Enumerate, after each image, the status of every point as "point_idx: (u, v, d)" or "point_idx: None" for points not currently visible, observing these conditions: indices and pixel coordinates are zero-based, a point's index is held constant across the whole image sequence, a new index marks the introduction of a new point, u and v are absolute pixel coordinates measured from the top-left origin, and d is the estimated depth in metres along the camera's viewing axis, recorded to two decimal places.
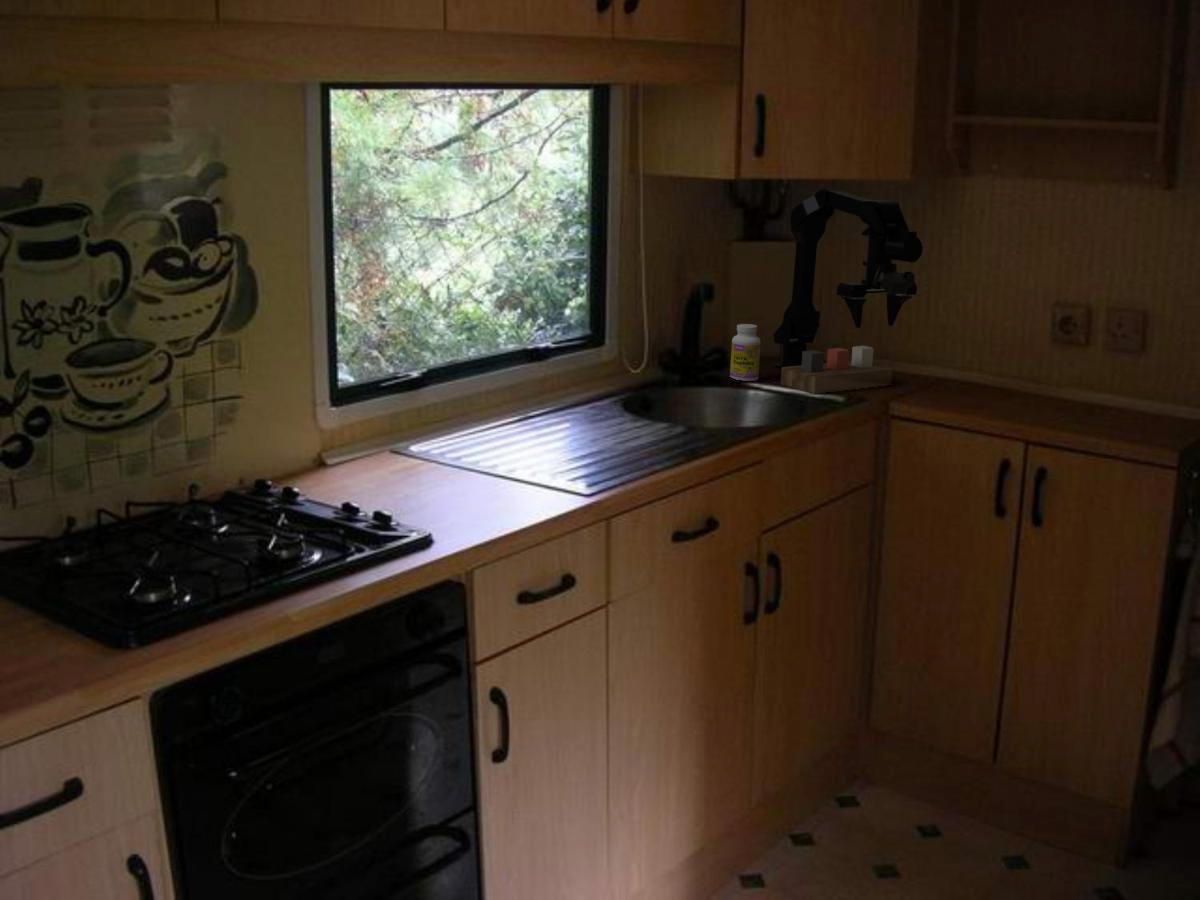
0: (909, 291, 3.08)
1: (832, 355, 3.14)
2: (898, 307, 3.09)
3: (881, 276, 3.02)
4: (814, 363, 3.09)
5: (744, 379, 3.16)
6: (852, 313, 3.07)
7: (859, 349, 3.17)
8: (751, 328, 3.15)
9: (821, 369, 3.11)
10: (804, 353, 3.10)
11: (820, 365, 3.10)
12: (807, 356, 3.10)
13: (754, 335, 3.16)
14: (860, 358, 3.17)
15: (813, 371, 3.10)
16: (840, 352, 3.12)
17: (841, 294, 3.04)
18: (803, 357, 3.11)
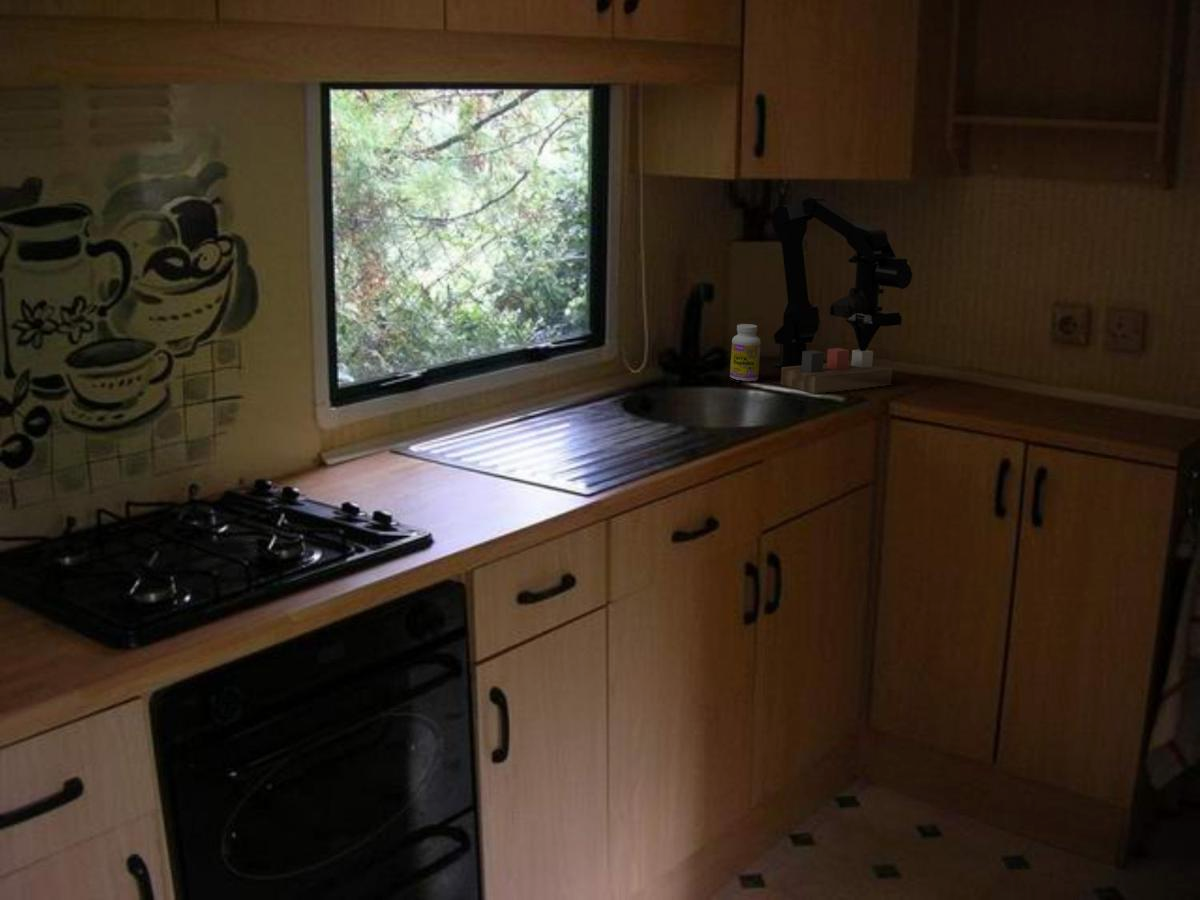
0: (875, 321, 3.09)
1: (832, 355, 3.14)
2: (862, 333, 3.16)
3: None
4: (814, 363, 3.09)
5: (744, 379, 3.16)
6: None
7: (859, 352, 3.17)
8: (751, 328, 3.15)
9: (821, 369, 3.11)
10: (804, 353, 3.10)
11: (820, 365, 3.10)
12: (807, 356, 3.10)
13: (754, 335, 3.16)
14: (860, 361, 3.17)
15: (813, 371, 3.10)
16: (840, 352, 3.12)
17: None
18: (803, 357, 3.11)
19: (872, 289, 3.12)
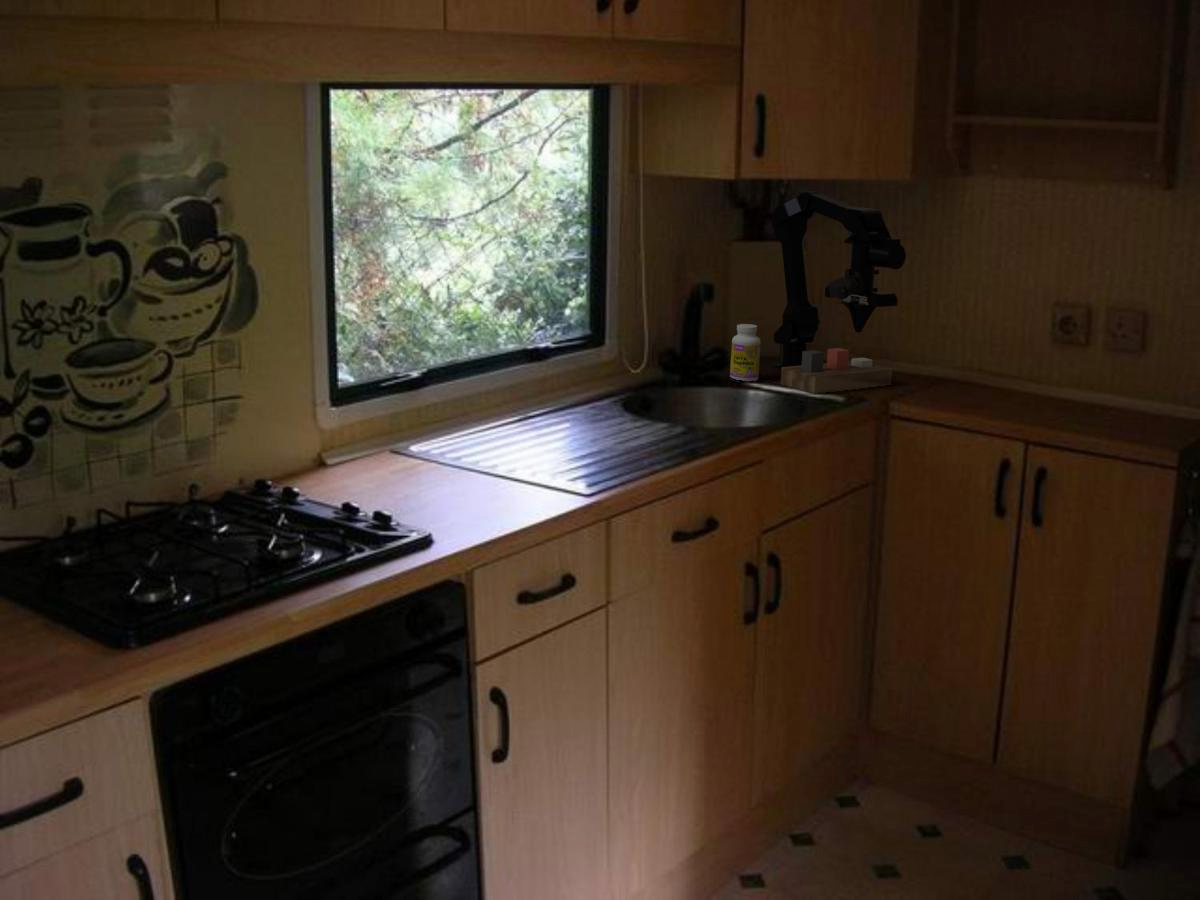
0: (870, 302, 3.07)
1: (832, 355, 3.14)
2: (857, 314, 3.14)
3: None
4: (814, 363, 3.09)
5: (744, 379, 3.16)
6: None
7: (858, 361, 3.17)
8: (751, 328, 3.15)
9: (821, 369, 3.11)
10: (804, 353, 3.10)
11: (820, 365, 3.10)
12: (807, 356, 3.10)
13: (754, 335, 3.16)
14: None
15: (813, 371, 3.10)
16: (840, 352, 3.12)
17: None
18: (803, 357, 3.11)
19: (868, 270, 3.10)
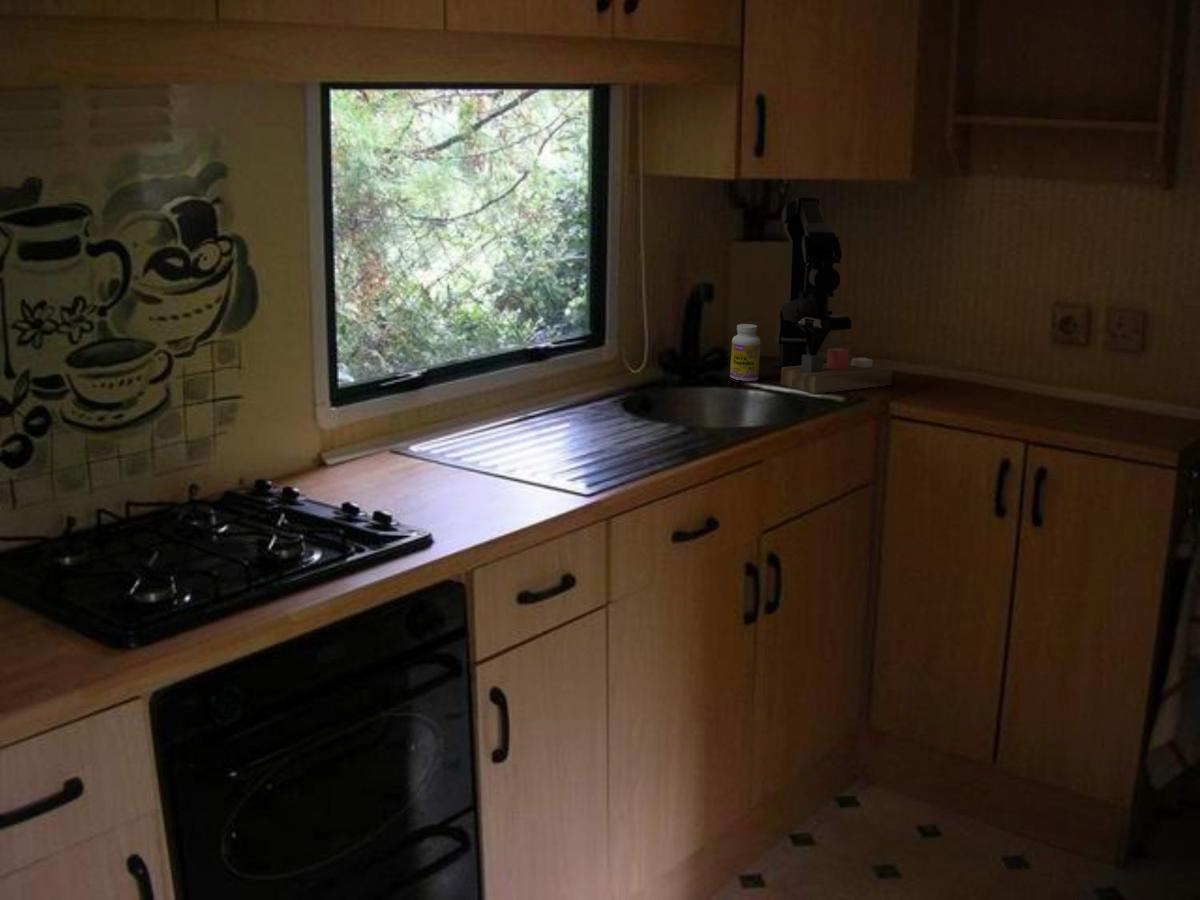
0: (824, 325, 3.02)
1: (832, 355, 3.14)
2: (812, 337, 3.08)
3: None
4: (814, 367, 3.09)
5: (744, 379, 3.16)
6: None
7: (858, 361, 3.17)
8: (751, 328, 3.15)
9: None
10: (804, 356, 3.11)
11: (819, 368, 3.10)
12: (807, 360, 3.10)
13: (754, 335, 3.16)
14: None
15: None
16: (840, 352, 3.12)
17: None
18: (803, 360, 3.11)
19: (822, 293, 3.04)
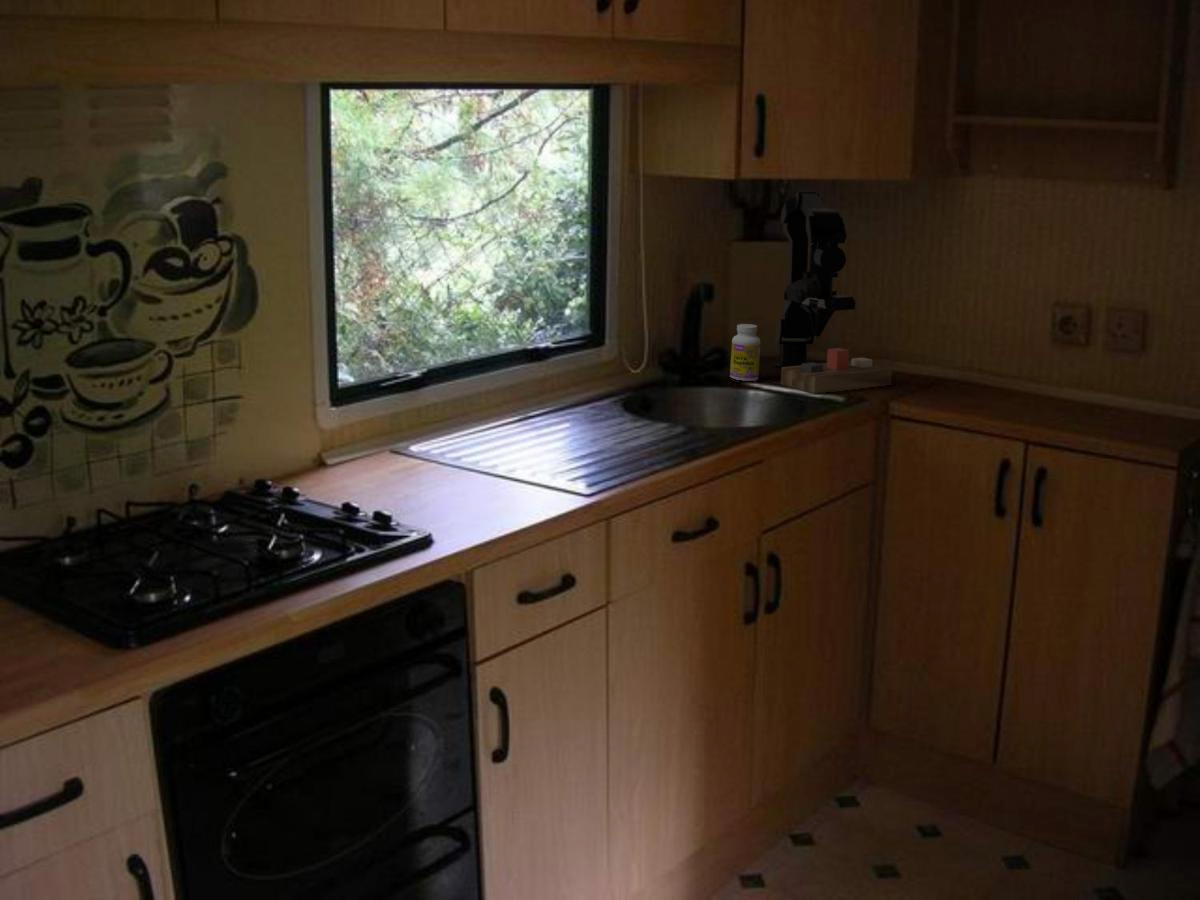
0: (828, 305, 3.01)
1: (832, 355, 3.14)
2: (816, 318, 3.07)
3: None
4: None
5: (744, 379, 3.16)
6: None
7: (858, 361, 3.17)
8: (751, 328, 3.15)
9: None
10: (803, 365, 3.11)
11: None
12: (807, 369, 3.10)
13: (754, 335, 3.16)
14: None
15: None
16: (840, 352, 3.12)
17: None
18: (802, 369, 3.12)
19: (826, 273, 3.04)
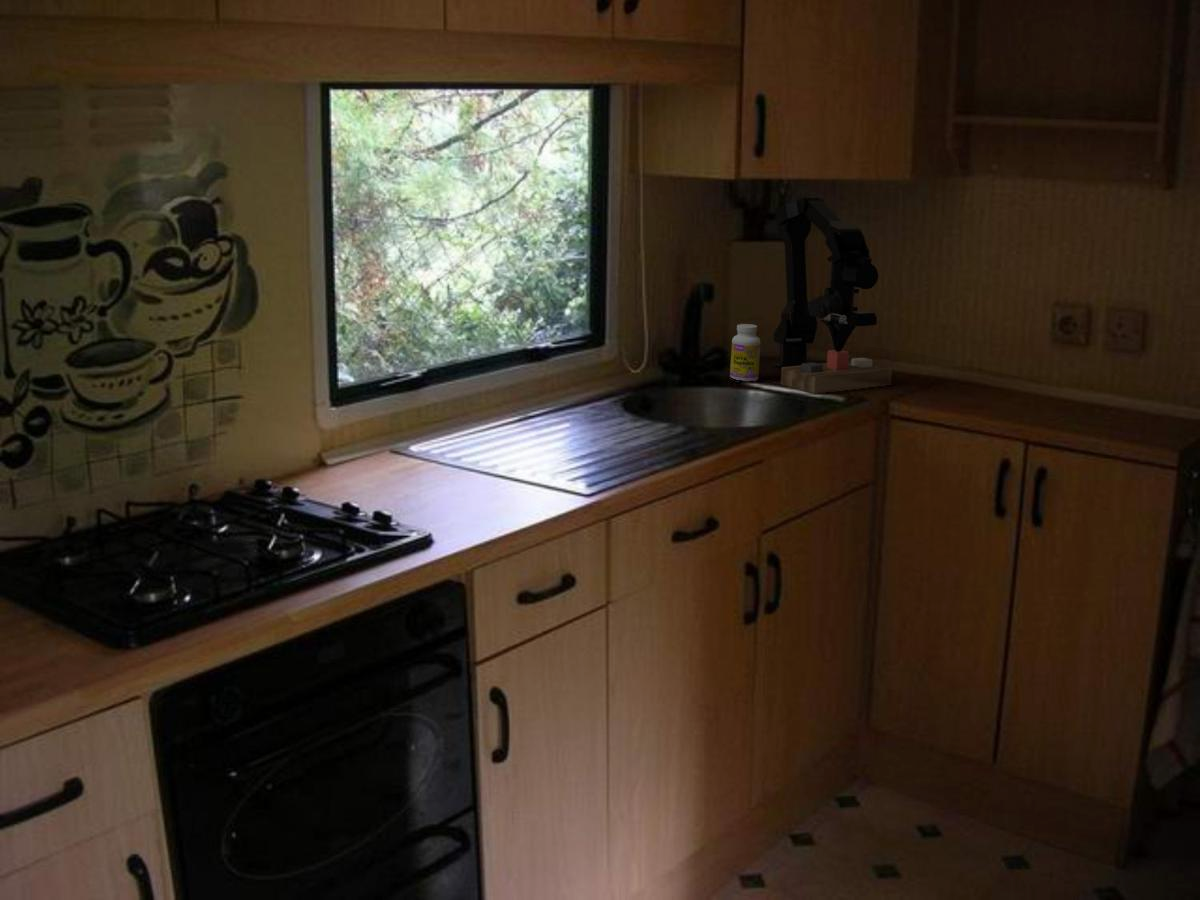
0: (849, 321, 3.05)
1: (832, 356, 3.14)
2: (837, 333, 3.12)
3: None
4: None
5: (744, 379, 3.16)
6: None
7: (858, 361, 3.17)
8: (751, 328, 3.15)
9: None
10: (803, 365, 3.11)
11: None
12: (807, 369, 3.10)
13: (754, 335, 3.16)
14: None
15: None
16: (840, 354, 3.13)
17: None
18: (802, 369, 3.12)
19: (848, 289, 3.08)
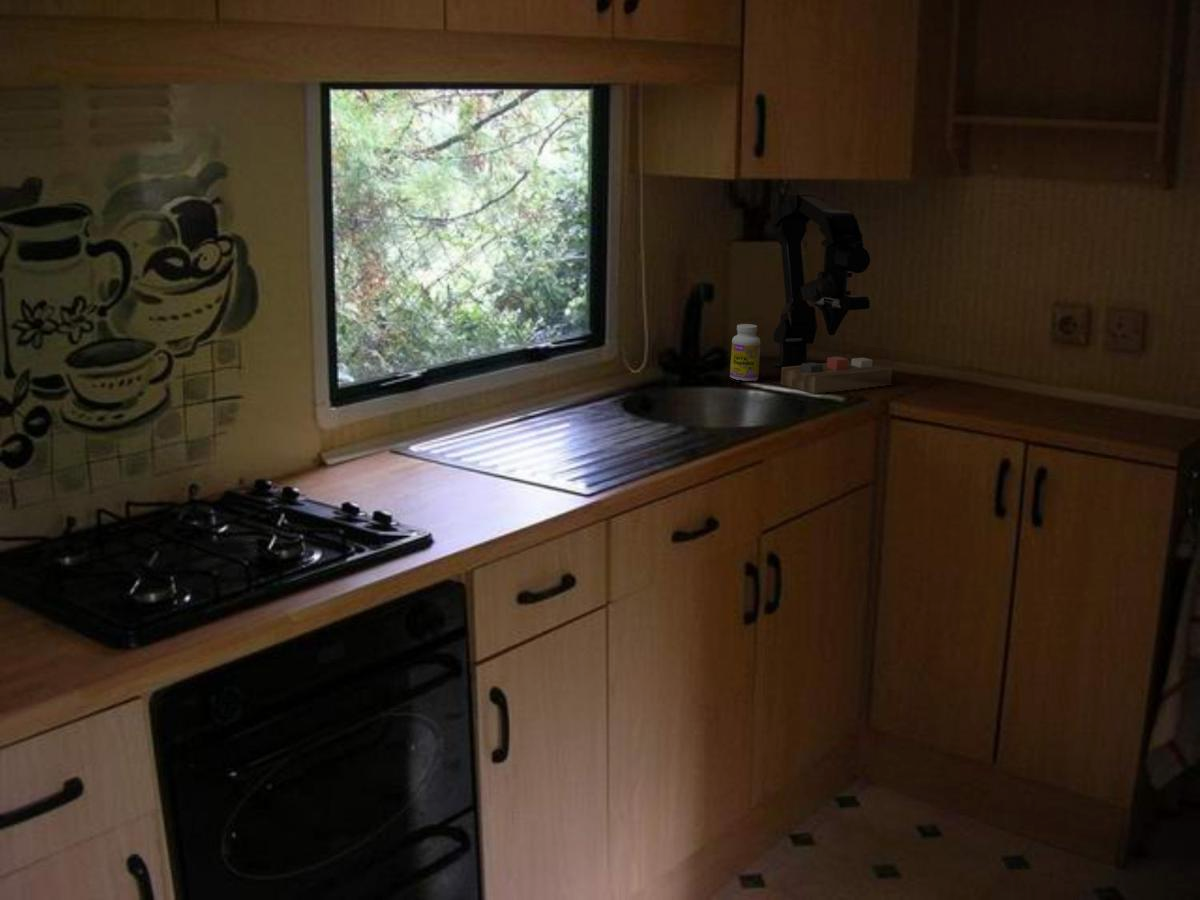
0: (842, 305, 3.07)
1: (831, 363, 3.14)
2: (830, 317, 3.13)
3: None
4: None
5: (744, 379, 3.16)
6: None
7: (858, 361, 3.17)
8: (751, 328, 3.15)
9: None
10: (803, 365, 3.11)
11: None
12: (807, 369, 3.10)
13: (754, 335, 3.16)
14: None
15: None
16: (839, 361, 3.13)
17: None
18: (802, 369, 3.12)
19: (841, 273, 3.09)
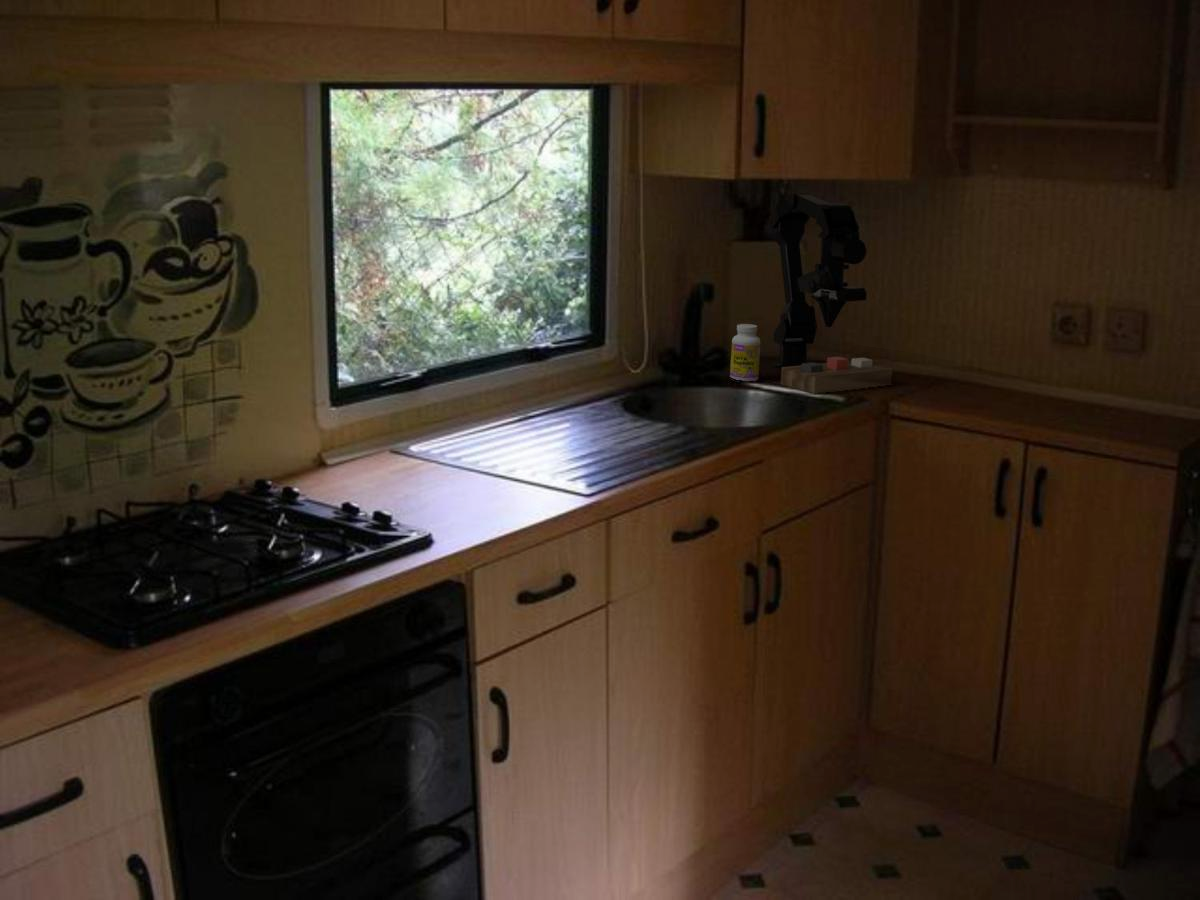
0: (839, 296, 3.07)
1: (831, 363, 3.14)
2: (827, 309, 3.14)
3: None
4: None
5: (744, 379, 3.16)
6: None
7: (858, 361, 3.17)
8: (751, 328, 3.15)
9: None
10: (803, 365, 3.11)
11: None
12: (807, 369, 3.10)
13: (754, 335, 3.16)
14: None
15: None
16: (839, 361, 3.13)
17: None
18: (802, 369, 3.12)
19: (838, 265, 3.10)
